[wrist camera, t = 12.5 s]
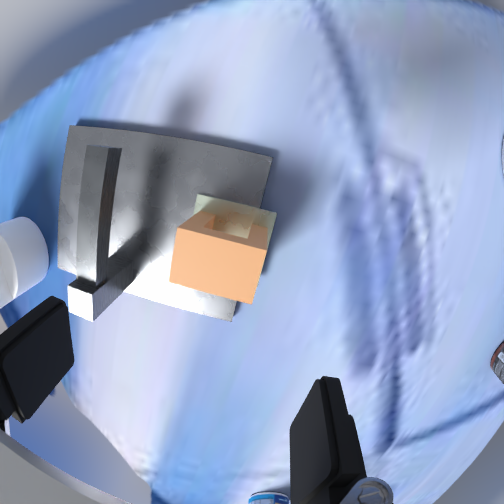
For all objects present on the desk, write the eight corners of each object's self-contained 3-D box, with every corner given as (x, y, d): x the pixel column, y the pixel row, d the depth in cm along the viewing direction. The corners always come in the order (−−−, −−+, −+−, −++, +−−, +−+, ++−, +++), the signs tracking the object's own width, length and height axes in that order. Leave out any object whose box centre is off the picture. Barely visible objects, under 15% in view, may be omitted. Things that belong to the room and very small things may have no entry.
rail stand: (75, 125, 24) (16, 121, 15) (289, 162, 24) (300, 161, 16) (62, 264, 29) (13, 295, 20) (246, 320, 29) (238, 378, 21)
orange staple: (200, 210, 25) (177, 227, 18) (267, 227, 25) (266, 250, 19) (191, 253, 26) (168, 281, 20) (256, 270, 26) (251, 304, 20)
